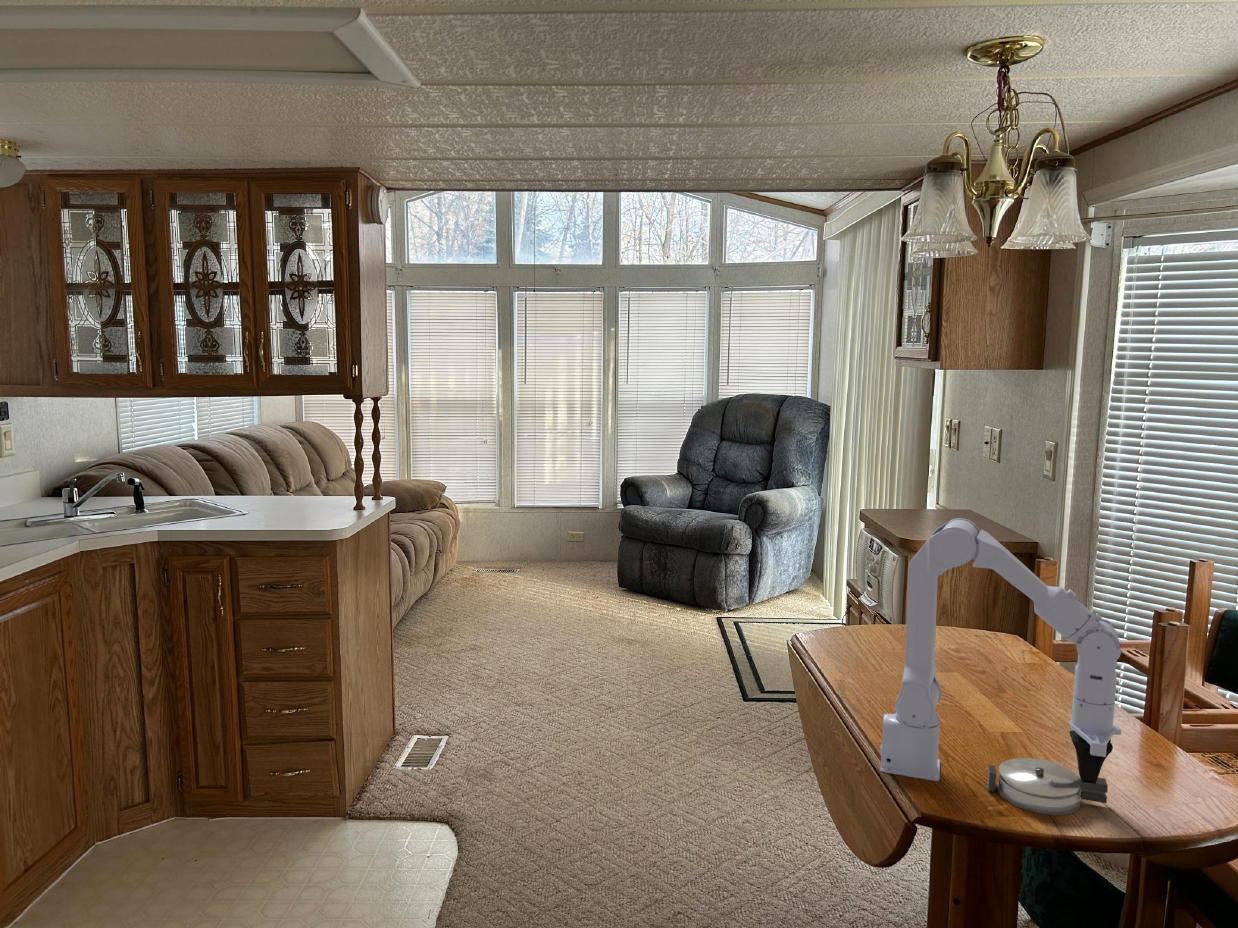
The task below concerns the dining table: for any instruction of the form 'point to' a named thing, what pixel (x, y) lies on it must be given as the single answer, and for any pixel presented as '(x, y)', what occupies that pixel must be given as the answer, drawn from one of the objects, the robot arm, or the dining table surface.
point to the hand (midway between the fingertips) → (1087, 779)
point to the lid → (1045, 778)
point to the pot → (1042, 798)
